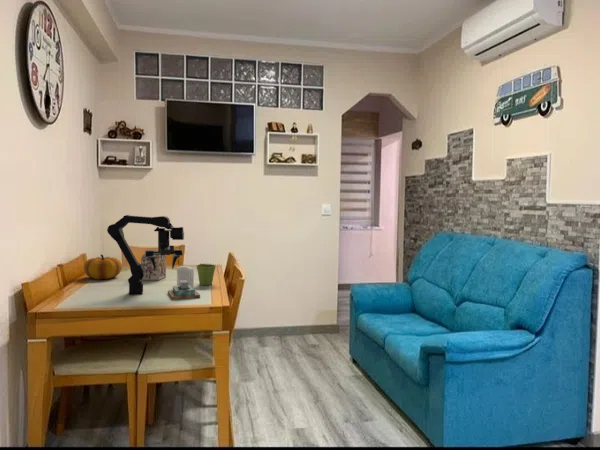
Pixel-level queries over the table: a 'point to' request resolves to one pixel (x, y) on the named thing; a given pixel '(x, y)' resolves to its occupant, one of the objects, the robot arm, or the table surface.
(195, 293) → the well board
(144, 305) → the table surface
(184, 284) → the silver metal block
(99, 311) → the table surface
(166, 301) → the table surface
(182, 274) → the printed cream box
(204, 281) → the plant pot
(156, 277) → the decorative jar
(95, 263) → the decorative pumpkin
